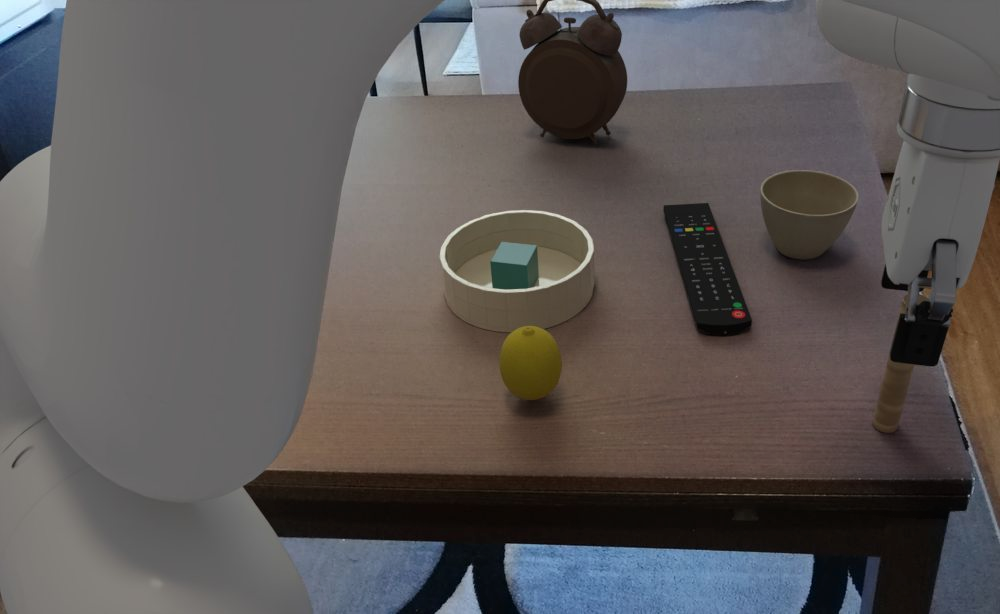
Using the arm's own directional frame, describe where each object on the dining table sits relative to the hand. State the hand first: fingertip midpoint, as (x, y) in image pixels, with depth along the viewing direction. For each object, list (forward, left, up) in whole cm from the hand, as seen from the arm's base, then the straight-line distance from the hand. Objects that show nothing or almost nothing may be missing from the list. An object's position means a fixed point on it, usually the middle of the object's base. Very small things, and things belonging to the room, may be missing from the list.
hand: (906, 323), depth 68 cm
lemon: (-2, +30, -11) cm, 32 cm away
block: (+15, +36, -11) cm, 40 cm away
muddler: (0, 0, -11) cm, 11 cm away
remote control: (+22, +17, -11) cm, 30 cm away
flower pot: (+28, +7, -11) cm, 31 cm away
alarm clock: (+53, +38, -11) cm, 66 cm away
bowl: (+15, +36, -11) cm, 40 cm away
